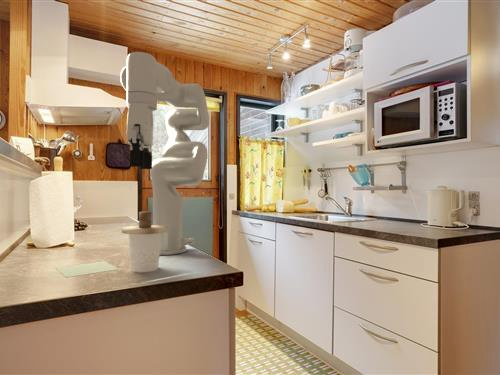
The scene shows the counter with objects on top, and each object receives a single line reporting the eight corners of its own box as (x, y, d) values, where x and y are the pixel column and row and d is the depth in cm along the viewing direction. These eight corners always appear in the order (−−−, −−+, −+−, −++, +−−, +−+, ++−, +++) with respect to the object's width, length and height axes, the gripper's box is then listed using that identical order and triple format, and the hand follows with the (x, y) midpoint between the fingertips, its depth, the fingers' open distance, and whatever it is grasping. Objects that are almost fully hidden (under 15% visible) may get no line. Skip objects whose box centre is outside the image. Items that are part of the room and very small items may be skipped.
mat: (104, 262, 89) (104, 261, 89) (119, 270, 80) (119, 268, 80) (55, 269, 81) (55, 267, 81) (65, 279, 72) (65, 277, 72)
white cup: (143, 276, 75) (143, 234, 75) (121, 271, 79) (121, 232, 79) (167, 269, 82) (167, 230, 82) (145, 265, 86) (146, 228, 86)
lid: (155, 227, 88) (155, 210, 88) (175, 231, 80) (175, 212, 80) (115, 231, 81) (115, 211, 81) (132, 235, 73) (132, 214, 73)
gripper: (135, 110, 90) (135, 169, 90) (116, 92, 73) (116, 165, 73) (162, 111, 91) (162, 169, 91) (149, 93, 74) (149, 165, 74)
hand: (141, 167), depth 82 cm, fingers open, 9 cm apart
